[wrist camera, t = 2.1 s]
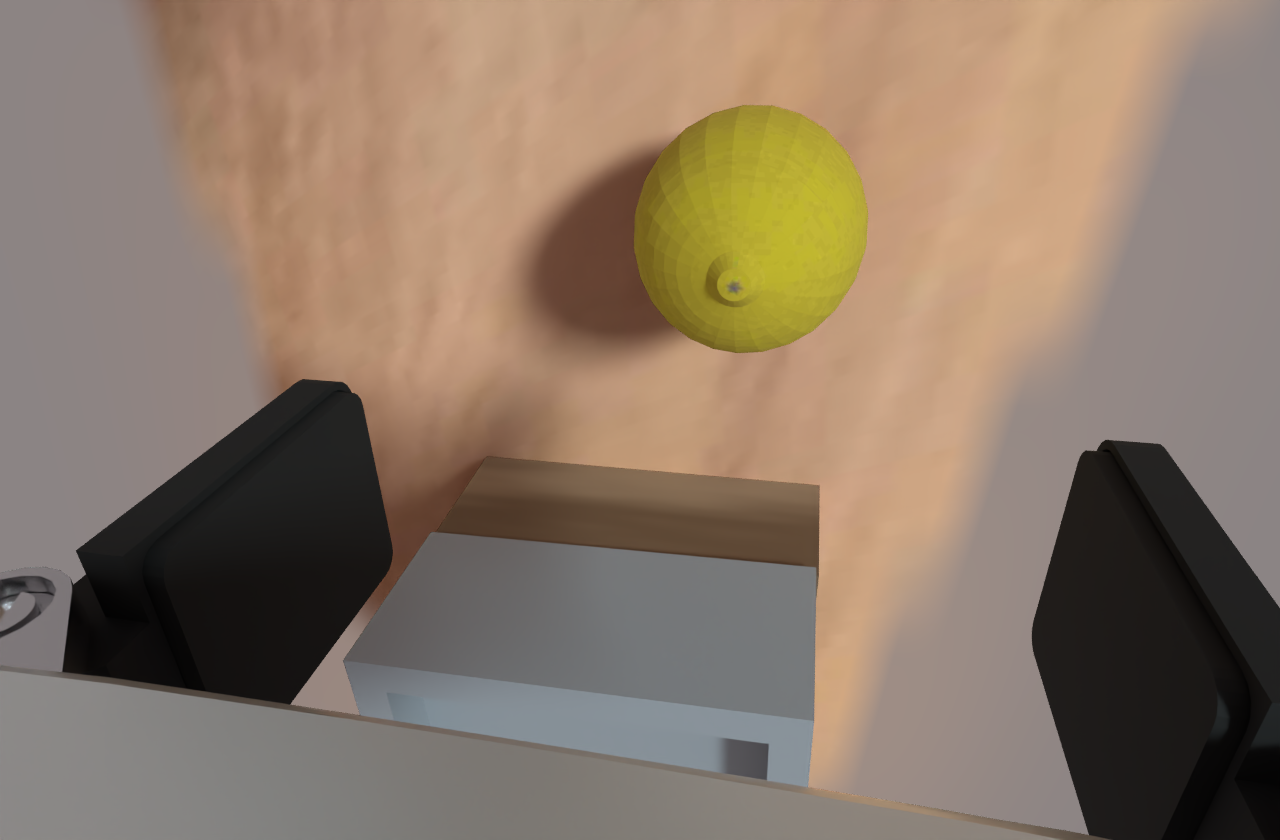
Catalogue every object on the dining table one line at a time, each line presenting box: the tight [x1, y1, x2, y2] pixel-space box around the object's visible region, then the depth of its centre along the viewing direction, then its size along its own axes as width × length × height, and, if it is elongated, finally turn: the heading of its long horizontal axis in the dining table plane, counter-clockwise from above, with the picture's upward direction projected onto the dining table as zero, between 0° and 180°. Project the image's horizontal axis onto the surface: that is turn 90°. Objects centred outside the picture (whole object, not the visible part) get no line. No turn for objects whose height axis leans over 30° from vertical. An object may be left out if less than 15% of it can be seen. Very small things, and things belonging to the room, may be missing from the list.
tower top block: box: [343, 532, 816, 787], centre depth 25 cm, size 12×12×6 cm
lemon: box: [634, 105, 868, 353], centre depth 20 cm, size 6×6×8 cm
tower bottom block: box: [436, 457, 820, 596], centre depth 30 cm, size 12×12×5 cm
